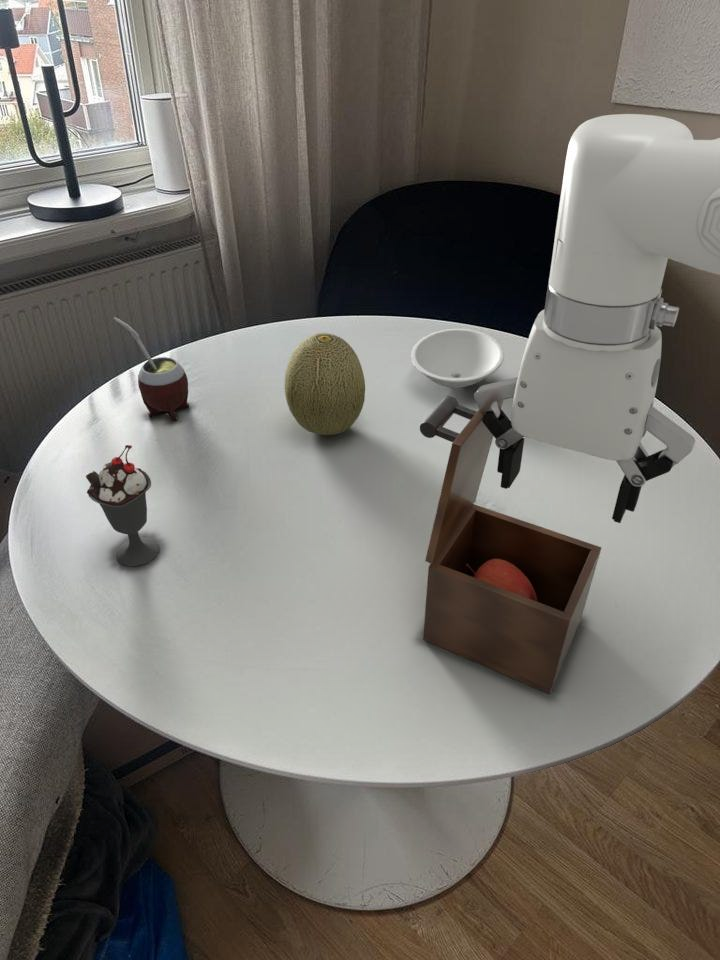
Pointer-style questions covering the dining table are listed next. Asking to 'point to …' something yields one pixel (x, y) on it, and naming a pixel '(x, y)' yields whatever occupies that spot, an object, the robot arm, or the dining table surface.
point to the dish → (457, 356)
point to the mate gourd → (161, 383)
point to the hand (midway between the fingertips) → (563, 495)
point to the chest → (509, 596)
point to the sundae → (125, 507)
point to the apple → (505, 577)
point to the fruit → (324, 384)
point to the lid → (457, 468)
